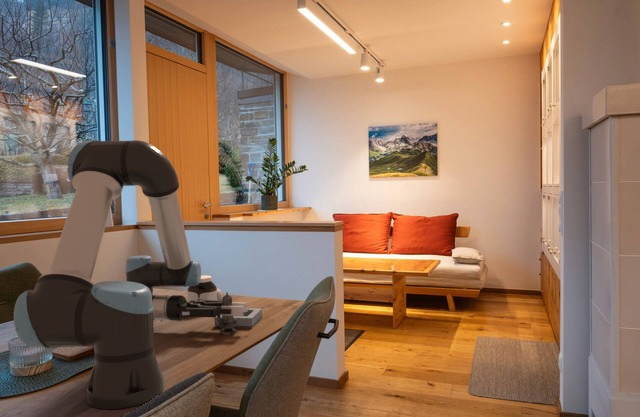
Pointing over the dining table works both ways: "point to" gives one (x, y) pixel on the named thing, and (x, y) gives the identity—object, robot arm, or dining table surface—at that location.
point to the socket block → (245, 318)
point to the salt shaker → (227, 318)
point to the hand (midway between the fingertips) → (244, 309)
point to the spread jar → (204, 290)
